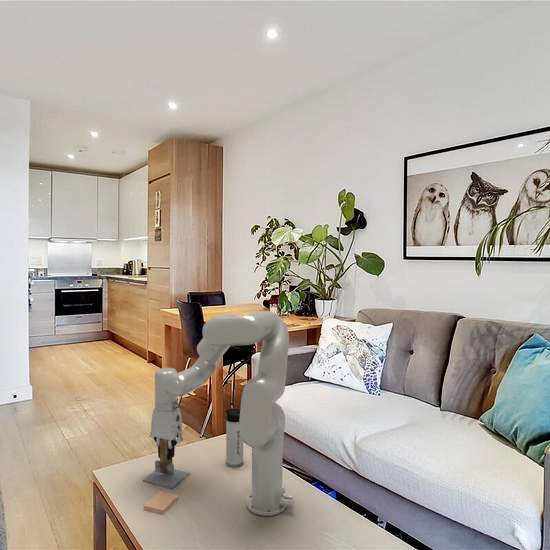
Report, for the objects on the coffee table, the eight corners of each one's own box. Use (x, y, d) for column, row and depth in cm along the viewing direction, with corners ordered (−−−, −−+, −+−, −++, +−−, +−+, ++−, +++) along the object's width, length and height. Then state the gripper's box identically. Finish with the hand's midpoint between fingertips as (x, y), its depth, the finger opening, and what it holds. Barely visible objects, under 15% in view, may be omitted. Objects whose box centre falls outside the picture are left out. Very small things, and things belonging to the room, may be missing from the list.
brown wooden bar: (177, 471, 147) (177, 431, 146) (172, 475, 144) (172, 435, 144) (160, 467, 150) (160, 428, 149) (155, 471, 147) (155, 431, 146)
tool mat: (189, 474, 150) (189, 472, 150) (172, 488, 140) (172, 487, 140) (161, 467, 154) (161, 466, 154) (142, 481, 145) (142, 479, 145)
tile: (178, 496, 134) (163, 510, 127) (178, 501, 134) (163, 516, 127) (159, 491, 136) (143, 505, 129) (159, 497, 137) (143, 511, 129)
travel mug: (227, 458, 161) (227, 406, 160) (244, 459, 160) (245, 407, 159) (223, 466, 155) (223, 412, 154) (241, 468, 154) (241, 414, 153)
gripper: (192, 404, 146) (192, 456, 147) (153, 398, 152) (153, 448, 153) (180, 412, 139) (180, 467, 140) (139, 405, 145) (139, 457, 146)
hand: (166, 456), depth 147 cm, fingers closed on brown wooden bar, 3 cm apart
